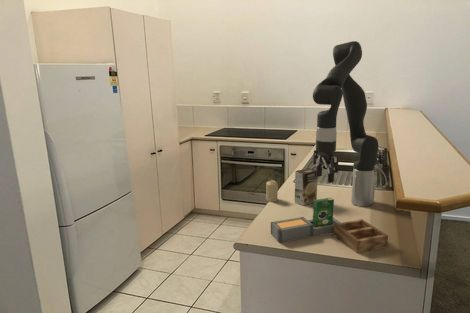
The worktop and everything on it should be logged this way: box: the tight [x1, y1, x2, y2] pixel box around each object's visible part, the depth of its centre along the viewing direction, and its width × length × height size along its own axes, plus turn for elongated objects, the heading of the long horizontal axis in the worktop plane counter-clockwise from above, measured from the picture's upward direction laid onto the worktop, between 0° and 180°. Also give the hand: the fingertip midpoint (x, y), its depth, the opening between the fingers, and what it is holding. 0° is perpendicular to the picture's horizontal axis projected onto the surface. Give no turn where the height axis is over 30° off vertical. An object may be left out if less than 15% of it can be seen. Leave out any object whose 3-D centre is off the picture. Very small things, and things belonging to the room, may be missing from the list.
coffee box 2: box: [312, 197, 335, 227], centre depth 143 cm, size 8×3×13 cm, turn 109°
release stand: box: [270, 216, 342, 243], centre depth 141 cm, size 28×8×5 cm, turn 107°
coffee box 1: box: [294, 167, 319, 207], centre depth 171 cm, size 9×6×16 cm
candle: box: [265, 179, 279, 202], centre depth 176 cm, size 6×6×10 cm
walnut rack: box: [332, 218, 389, 254], centre depth 134 cm, size 13×15×4 cm
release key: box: [276, 219, 307, 229], centre depth 140 cm, size 11×5×4 cm, turn 107°
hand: (324, 179), depth 139 cm, fingers open, 8 cm apart
